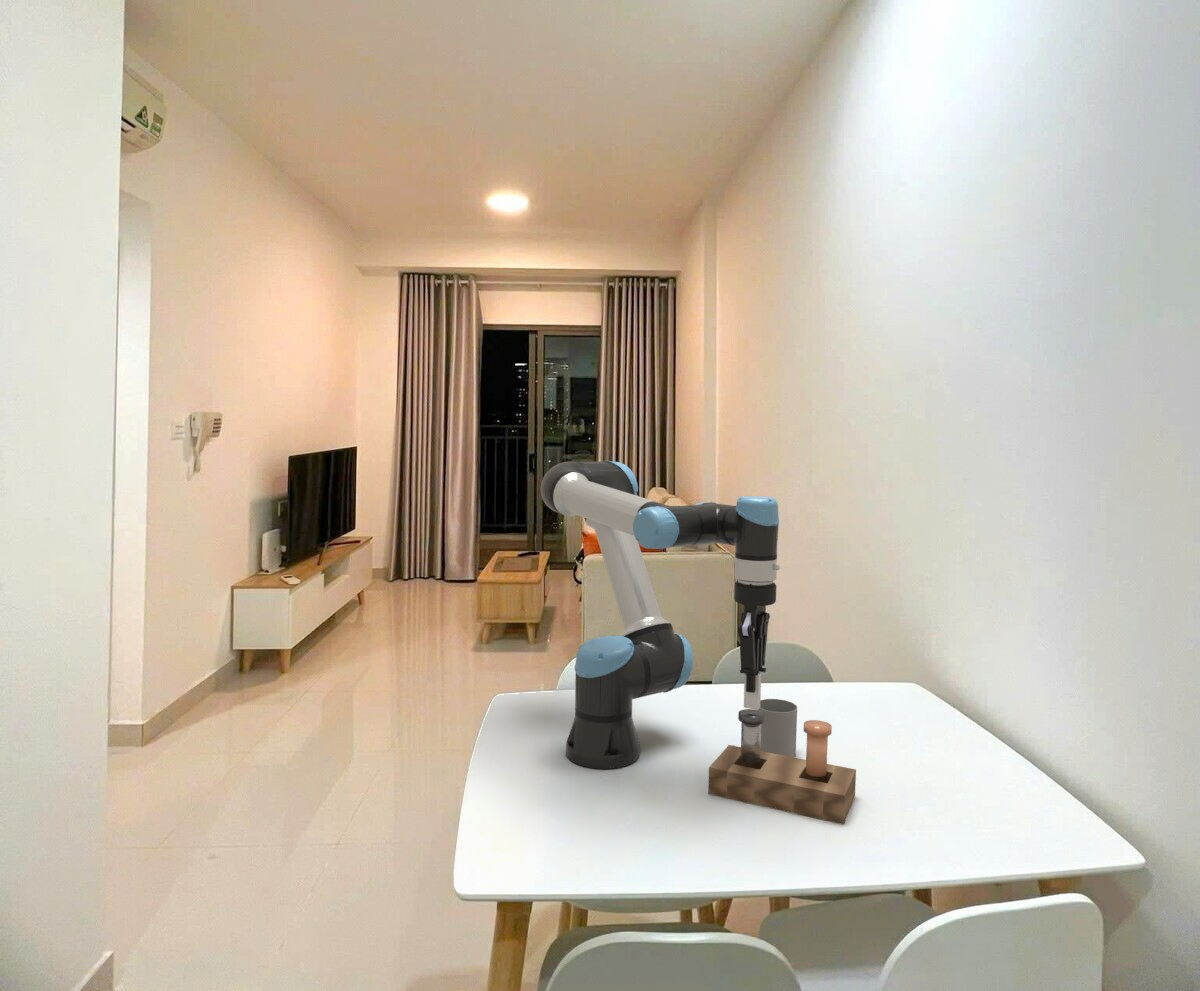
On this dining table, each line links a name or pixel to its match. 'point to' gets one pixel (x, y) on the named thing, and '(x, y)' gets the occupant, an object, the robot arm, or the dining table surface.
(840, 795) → the socket block
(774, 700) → the cup
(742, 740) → the plug grey
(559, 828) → the dining table surface
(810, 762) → the plug terracotta
